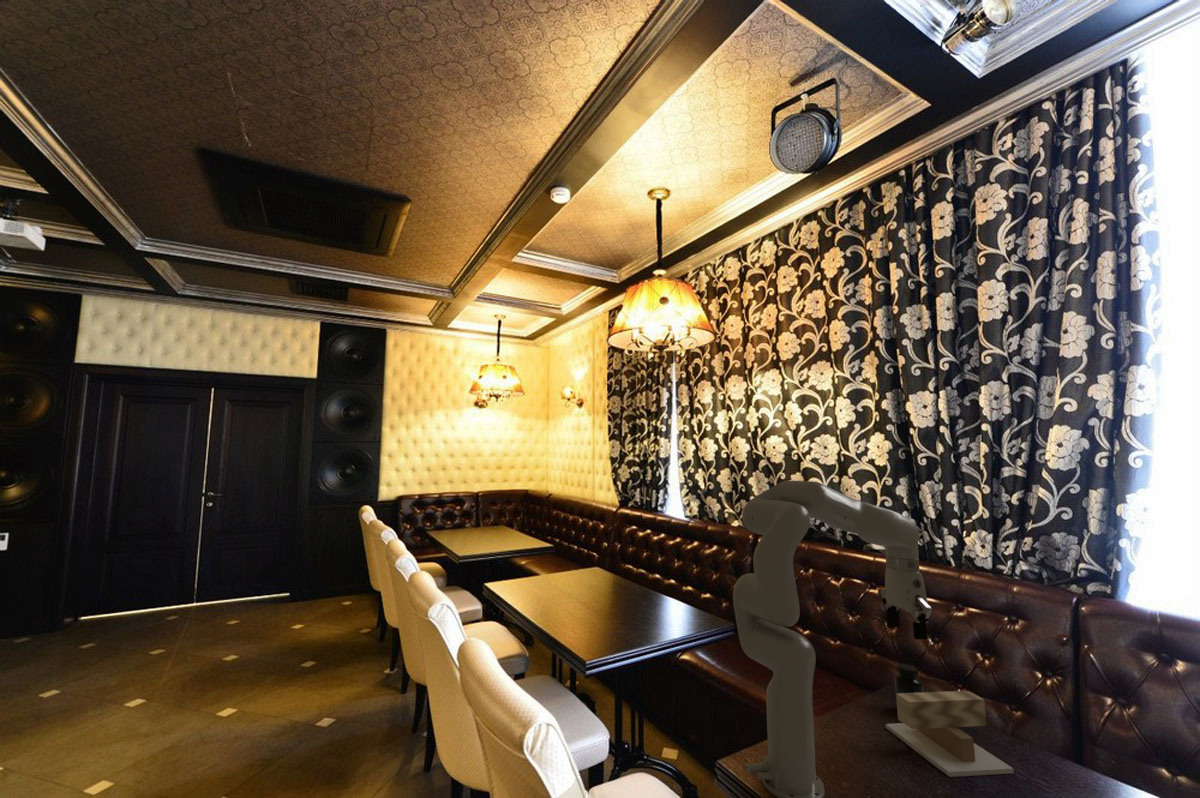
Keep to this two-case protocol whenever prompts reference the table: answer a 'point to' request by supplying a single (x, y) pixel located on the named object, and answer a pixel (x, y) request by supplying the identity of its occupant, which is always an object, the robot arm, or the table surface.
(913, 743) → the board
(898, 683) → the supplement bottle
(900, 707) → the birch beam
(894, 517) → the robot arm
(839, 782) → the table surface
